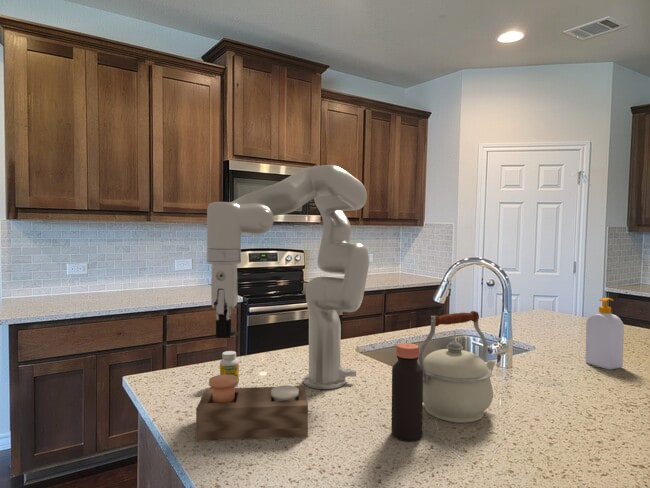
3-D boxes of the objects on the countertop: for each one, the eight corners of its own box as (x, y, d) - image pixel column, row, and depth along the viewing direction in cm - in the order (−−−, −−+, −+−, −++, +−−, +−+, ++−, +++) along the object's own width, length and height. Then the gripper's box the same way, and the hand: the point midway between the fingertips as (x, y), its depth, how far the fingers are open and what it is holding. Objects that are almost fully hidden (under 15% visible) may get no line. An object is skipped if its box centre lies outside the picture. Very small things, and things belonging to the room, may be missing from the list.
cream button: (298, 409, 105) (298, 385, 105) (299, 421, 99) (299, 395, 98) (271, 410, 104) (271, 385, 104) (270, 422, 98) (270, 395, 98)
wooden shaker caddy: (305, 413, 108) (305, 385, 108) (307, 436, 96) (308, 405, 96) (205, 417, 106) (205, 388, 105) (196, 441, 94) (196, 409, 93)
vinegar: (415, 445, 93) (417, 351, 92) (386, 436, 96) (387, 346, 96) (426, 432, 98) (427, 344, 98) (398, 425, 102) (399, 340, 101)
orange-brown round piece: (239, 399, 103) (239, 374, 103) (236, 410, 97) (236, 383, 97) (211, 400, 103) (211, 374, 103) (207, 411, 96) (206, 384, 96)
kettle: (446, 435, 97) (448, 324, 96) (396, 406, 113) (397, 310, 112) (523, 414, 108) (525, 314, 108) (467, 390, 125) (469, 303, 124)
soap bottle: (624, 367, 146) (626, 299, 146) (610, 370, 144) (612, 300, 143) (598, 360, 155) (600, 295, 154) (585, 362, 152) (586, 297, 151)
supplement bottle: (234, 380, 132) (234, 349, 131) (241, 386, 127) (241, 353, 127) (217, 384, 129) (217, 351, 128) (223, 389, 124) (223, 356, 124)
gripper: (237, 258, 92) (237, 345, 92) (243, 255, 107) (243, 329, 107) (201, 258, 91) (200, 345, 92) (212, 255, 106) (211, 330, 106)
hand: (223, 337), depth 99 cm, fingers closed
